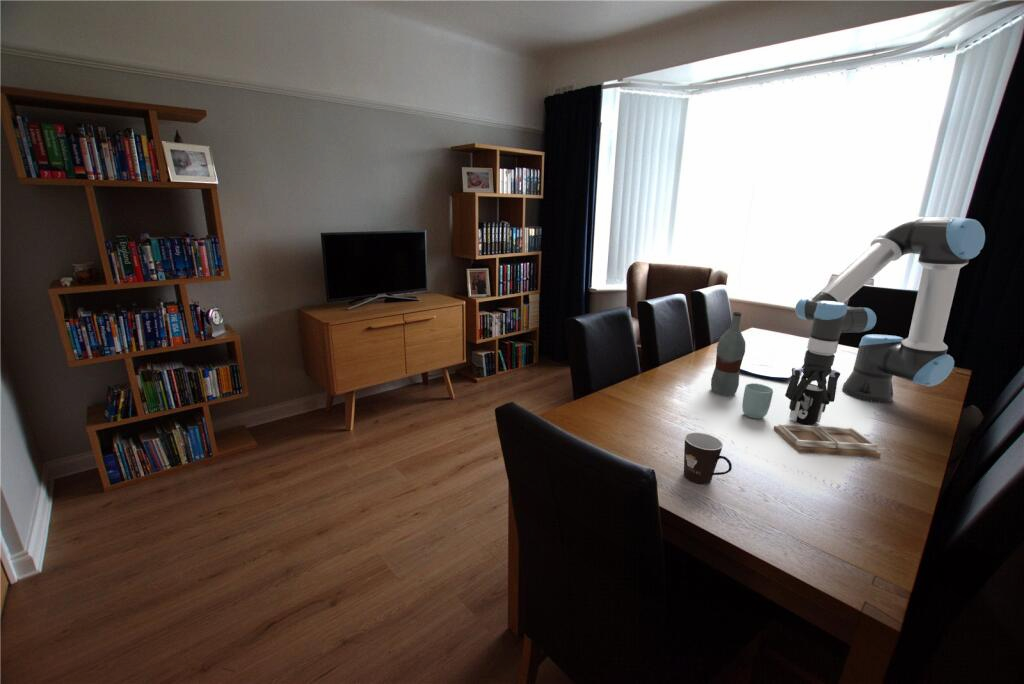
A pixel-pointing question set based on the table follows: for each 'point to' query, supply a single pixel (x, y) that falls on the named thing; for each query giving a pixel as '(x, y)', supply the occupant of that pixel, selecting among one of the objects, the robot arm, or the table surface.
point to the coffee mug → (702, 457)
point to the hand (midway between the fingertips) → (804, 420)
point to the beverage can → (810, 405)
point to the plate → (766, 369)
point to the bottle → (729, 359)
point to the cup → (756, 400)
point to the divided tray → (827, 440)
